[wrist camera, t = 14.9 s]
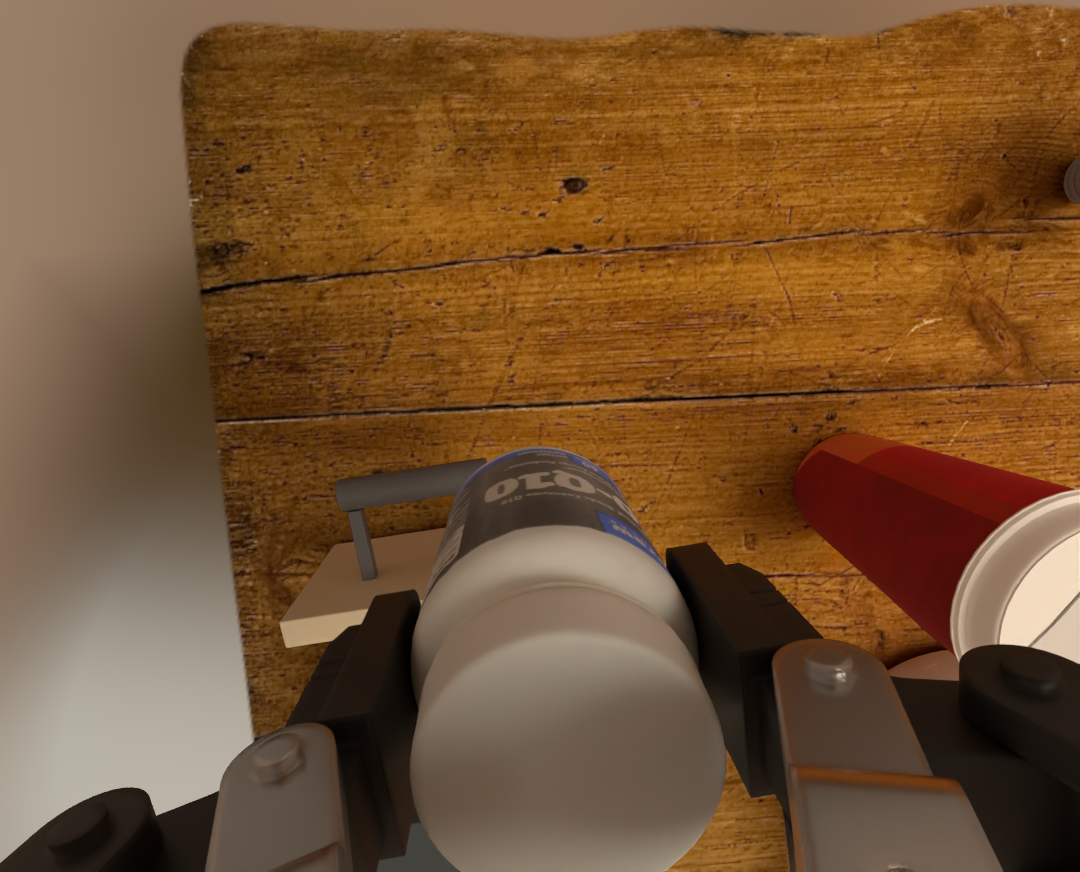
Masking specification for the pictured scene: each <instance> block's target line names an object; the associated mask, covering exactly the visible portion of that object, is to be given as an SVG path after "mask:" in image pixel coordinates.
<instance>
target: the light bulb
mask: <svg viewBox="0 0 1080 872" xmlns="http://www.w3.org/2000/svg"><path fill="white" fill-rule="evenodd" d="M1064 190H1065V193H1066V195H1067V197H1068V198H1069V200H1071V201H1072V202H1074V203H1076V204H1080V157H1078V158H1077V159H1076V160H1074V161H1073V162H1072V164H1071V165H1070V166H1069V168H1068V169H1067V172H1066V174H1065V178H1064Z"/></svg>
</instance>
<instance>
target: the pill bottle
mask: <svg viewBox="0 0 1080 872" xmlns="http://www.w3.org/2000/svg"><path fill="white" fill-rule="evenodd" d="M410 662H411V678H412V687H413V691H414V696H415V700H416V703H417V706H418V709H419V712H418V718H417V723H416V728H415V733H414V737H413V742H412V750H411V757H410V772H409V777H410V783H411V790H412V796H413V801H414V805H415V808H416V811H417V814H418V817H419V819H420V821H421V824H422V826H423V828H424V830H425V832H426V834H427V835H428V837H429V839H430V840H431V841H432V843H433V844H434V845H435V847H436V848H437V849H438V850H439V852H440V853H441V854H442V855H443V856H444V857H445V858H446V859H447V860H448V861H449V862H450V863H451V864H452V865H453V866H454V867H455V868H457V869H458V870H459V871H461V872H665V871H667V870H668V869H669V868H670V867H671V866H672V865H674V864H675V863H676V862H677V861H678V860H679V859H680V858H682V857H683V856H684V855H685V854H686V853H687V852H688V851H689V850H690V849H691V848H692V847H693V846H694V845H695V844H696V842H697V841H698V840H699V838H700V837H701V836H702V834H703V833H704V831H705V829H706V828H707V826H708V825H709V823H710V821H711V819H712V817H713V815H714V813H715V811H716V809H717V806H718V804H719V801H720V797H721V794H722V791H723V786H724V781H725V774H726V751H725V744H724V736H723V732H722V728H721V725H720V721H719V719H718V716H717V713H716V711H715V708H714V706H713V703H712V701H711V699H710V697H709V695H708V693H707V691H706V689H705V687H704V684H703V682H702V679H701V677H700V674H699V671H698V668H699V650H698V639H697V634H696V629H695V625H694V622H693V618H692V616H691V613H690V610H689V608H688V605H687V603H686V601H685V599H684V598H683V596H682V594H681V592H680V590H679V588H678V586H677V584H676V582H675V581H674V579H673V578H672V576H671V575H670V573H669V571H668V570H667V568H666V567H665V565H664V563H663V562H662V560H661V558H660V556H659V555H658V553H657V552H656V550H655V548H654V547H653V545H652V543H651V542H650V540H649V538H648V537H647V535H646V533H645V532H644V530H643V528H642V526H641V525H640V523H639V521H638V520H637V518H636V516H635V515H634V513H633V512H632V510H631V508H630V507H629V505H628V503H627V501H626V500H625V498H624V496H623V494H622V493H621V491H620V490H619V488H618V487H617V485H616V484H615V483H614V482H613V480H612V479H611V478H610V477H609V476H608V475H607V474H606V473H605V472H604V471H603V470H602V469H601V468H599V467H598V466H597V465H595V464H594V463H593V462H591V461H589V460H588V459H586V458H584V457H582V456H580V455H578V454H575V453H573V452H570V451H567V450H563V449H559V448H554V447H546V446H532V447H523V448H519V449H515V450H512V451H509V452H506V453H504V454H502V455H499V456H497V457H496V458H494V459H492V460H490V461H489V462H487V463H486V464H484V465H483V466H482V467H480V468H479V469H478V470H477V471H476V472H475V473H474V474H473V475H472V476H471V477H470V478H469V479H468V480H467V481H466V483H465V484H464V485H463V487H462V488H461V490H460V491H459V493H458V495H457V496H456V499H455V501H454V503H453V506H452V509H451V511H450V515H449V518H448V521H447V525H446V528H445V531H444V534H443V537H442V540H441V542H440V546H439V550H438V553H437V556H436V559H435V562H434V566H433V569H432V571H431V574H430V579H429V582H428V585H427V589H426V592H425V596H424V599H423V602H422V606H421V609H420V613H419V616H418V620H417V622H416V626H415V629H414V633H413V636H412V648H411V658H410Z"/></svg>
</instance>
